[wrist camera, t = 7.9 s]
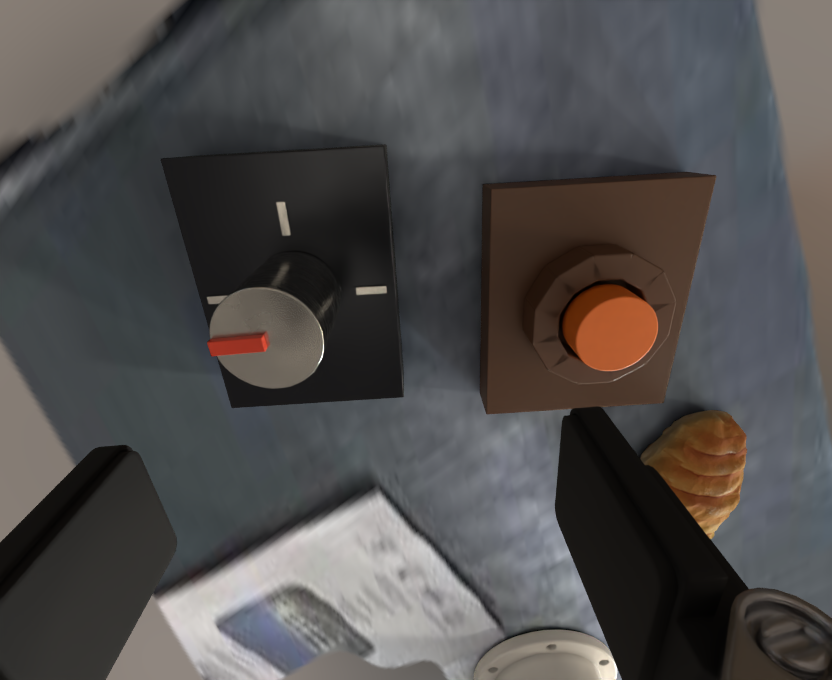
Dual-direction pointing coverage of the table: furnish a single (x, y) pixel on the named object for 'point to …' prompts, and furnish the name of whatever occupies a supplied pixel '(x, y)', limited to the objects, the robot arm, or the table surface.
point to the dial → (277, 321)
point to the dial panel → (308, 233)
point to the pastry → (702, 464)
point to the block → (582, 282)
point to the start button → (609, 327)
